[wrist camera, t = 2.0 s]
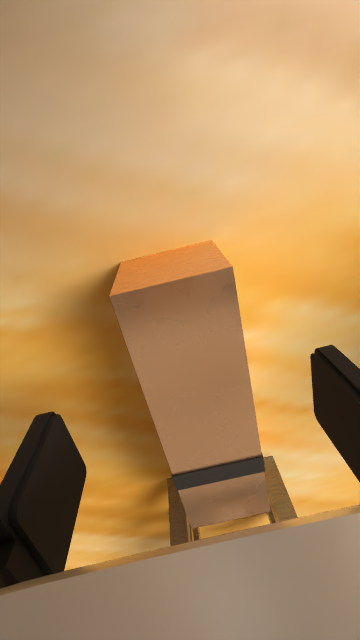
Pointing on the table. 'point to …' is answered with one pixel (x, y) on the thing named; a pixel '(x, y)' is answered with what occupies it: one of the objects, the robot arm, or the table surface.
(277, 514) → the grey open box frame
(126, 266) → the tall tan block
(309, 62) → the table surface
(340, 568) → the robot arm
